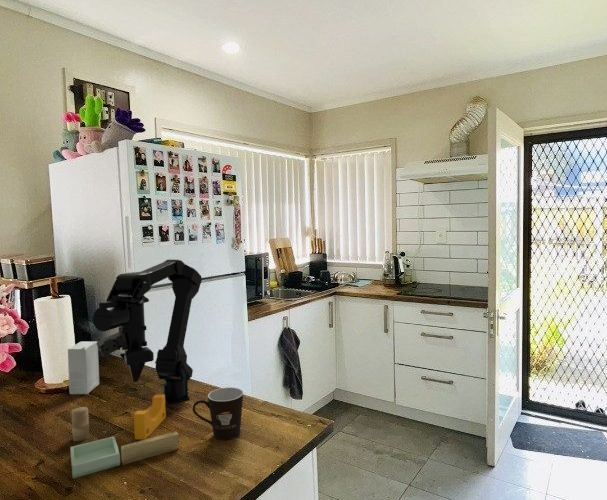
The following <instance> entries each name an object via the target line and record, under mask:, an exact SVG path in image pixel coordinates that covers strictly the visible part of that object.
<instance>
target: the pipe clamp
mask: <svg viewBox="0 0 607 500" xmlns="http://www.w3.org/2000/svg"><path fill="white" fill-rule="evenodd" d="M151 401H152V402H151V403H152V404H151V405H150V406H148V407H147V408H146V409H145V410H137V411H136V412H134V413H133V426H134V427H133V428H134V440H139V441H142V440H146V439H148V437H149V436H150V435H151V434H152V433H154V431H155V429H157V428H158V427H159V426H160V424H161V423H162V422H163V421H164V420H165V419H166V418H167V412H166V400H165V395H164V394H163V393H162V394H154V396H152V400H151Z"/></svg>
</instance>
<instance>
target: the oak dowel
mask: <svg viewBox="0 0 607 500" xmlns="http://www.w3.org/2000/svg"><path fill="white" fill-rule="evenodd" d="M70 412H71V432H72V441H73V442H82V441H85V440H87V439H88V438H89V437H90V426H89V425H90V424H89V422H90V421H89V420H90V419H89V408H88V407H87V406H80V407H76V408H74V409H72V410H71V411H70Z"/></svg>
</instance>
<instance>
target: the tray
mask: <svg viewBox="0 0 607 500" xmlns="http://www.w3.org/2000/svg"><path fill="white" fill-rule="evenodd" d="M118 446H119V445H118V444H117V441H116V437H115V435H113V436H109V437H106V438H101V439H97V440H94V441H90V442H86V443H85V442H84V443H81V444H77V445H74V446H70V447H69V448H70V462H71V463H70V464H71V473H72V475H71V476H72V479H76V478H80V477H84V476H87V475H90V474H93V473H98V472H101V471H104V470H109V469H111V468H114V467H118V466H120V465H121V455H120V454H121V452H120V451H119V447H118Z"/></svg>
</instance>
